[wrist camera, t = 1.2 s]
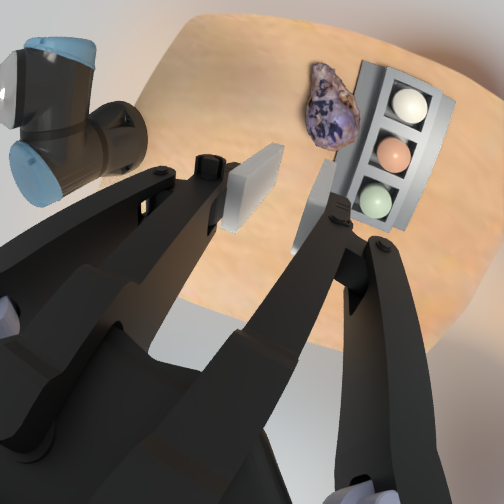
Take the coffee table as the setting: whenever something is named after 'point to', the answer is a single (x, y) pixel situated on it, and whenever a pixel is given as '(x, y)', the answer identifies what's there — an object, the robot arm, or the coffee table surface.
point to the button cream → (409, 105)
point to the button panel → (389, 124)
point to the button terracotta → (393, 154)
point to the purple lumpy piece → (331, 110)
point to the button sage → (375, 200)
